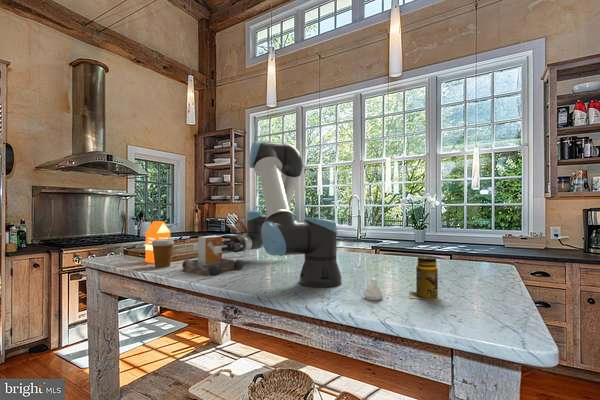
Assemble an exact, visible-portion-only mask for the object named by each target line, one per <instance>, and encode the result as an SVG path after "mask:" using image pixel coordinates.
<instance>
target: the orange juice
mask: <svg viewBox="0 0 600 400" xmlns="http://www.w3.org/2000/svg"><path fill="white" fill-rule="evenodd" d="M159 239H171V230H170V229H169V227H168V226H167V224H166V223H165V221H160V220H159V221H158V220H157V221H156V220H153V221H152V222H151V224H150V226H149V227H148V228H147V230H146V232H145V249H144V250H145V258H144V259H145V263H150V264H151V263H152V264H155V262H154V254H153V246H152V244H151V243H152V241H153V240H159Z"/></svg>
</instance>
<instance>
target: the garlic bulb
mask: <svg viewBox="0 0 600 400" xmlns="http://www.w3.org/2000/svg"><path fill="white" fill-rule="evenodd" d="M377 281H378V280H377V279H376V278H375V277H372V278H371V280H370V281H369V283H367V285H366V287H365V288H364V290H363V296H364V297H365V299H366V300H369V301H379V300H380V301H381V300H382V299H383V291H382V287H381V286H379V284H378V282H377Z"/></svg>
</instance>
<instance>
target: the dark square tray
mask: <svg viewBox="0 0 600 400" xmlns="http://www.w3.org/2000/svg"><path fill="white" fill-rule="evenodd" d="M181 265H182V272H186V273H192V274H197V275H203V276H207V277H208V275H209V276H213V275H214V276H218V275H219V274H220V273H221V274H222V273H225V272H230V271H234V270H242V269H243V268H244V266H245V263H244V261H243V260H241V259H236V260H234V259H230V258H229V259H228V258H222V262H218V263H213V264H202V263H198V259H194V260H193V259H191V260H189V259H185V260H184V261H183V262H182V264H181Z"/></svg>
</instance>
